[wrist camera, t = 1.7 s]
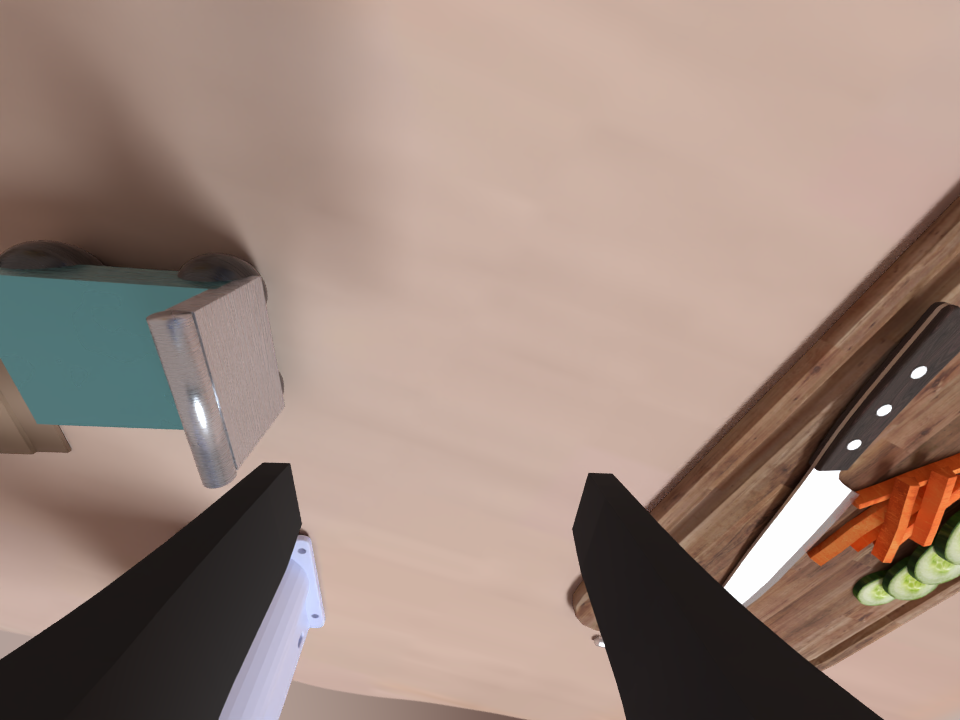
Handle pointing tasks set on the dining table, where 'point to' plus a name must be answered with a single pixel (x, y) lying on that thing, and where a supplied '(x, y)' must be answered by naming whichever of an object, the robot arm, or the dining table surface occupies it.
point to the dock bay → (24, 424)
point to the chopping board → (842, 471)
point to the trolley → (143, 348)
